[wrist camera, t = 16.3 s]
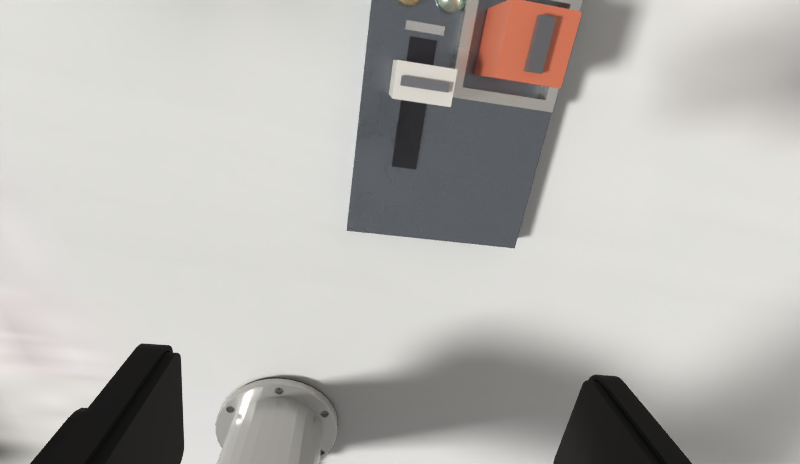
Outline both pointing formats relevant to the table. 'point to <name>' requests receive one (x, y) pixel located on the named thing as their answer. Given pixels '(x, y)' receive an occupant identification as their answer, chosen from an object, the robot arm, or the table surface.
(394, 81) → the block
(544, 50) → the cap
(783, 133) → the table surface
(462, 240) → the panel
